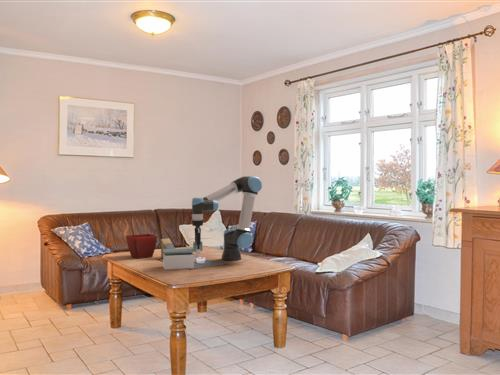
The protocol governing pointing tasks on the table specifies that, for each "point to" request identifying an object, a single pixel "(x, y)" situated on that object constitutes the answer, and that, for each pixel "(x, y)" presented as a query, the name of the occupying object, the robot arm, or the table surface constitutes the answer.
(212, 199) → the robot arm
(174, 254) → the tub
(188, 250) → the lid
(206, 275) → the table surface
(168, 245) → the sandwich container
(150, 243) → the plant pot
